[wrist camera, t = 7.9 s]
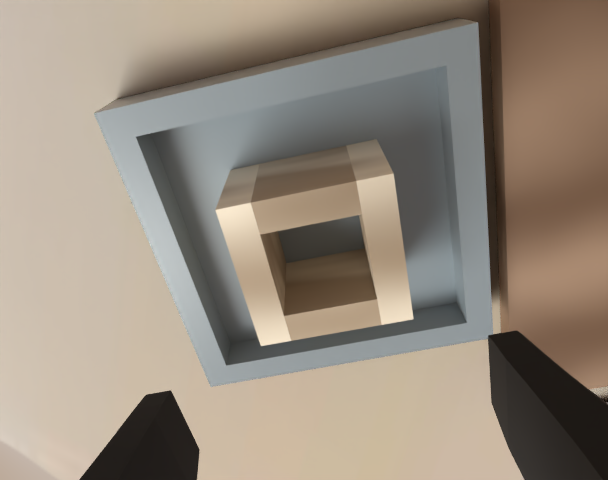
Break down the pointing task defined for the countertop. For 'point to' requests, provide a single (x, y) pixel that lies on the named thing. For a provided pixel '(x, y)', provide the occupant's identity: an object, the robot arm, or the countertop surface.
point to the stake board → (553, 177)
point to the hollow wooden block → (322, 270)
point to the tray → (331, 234)
